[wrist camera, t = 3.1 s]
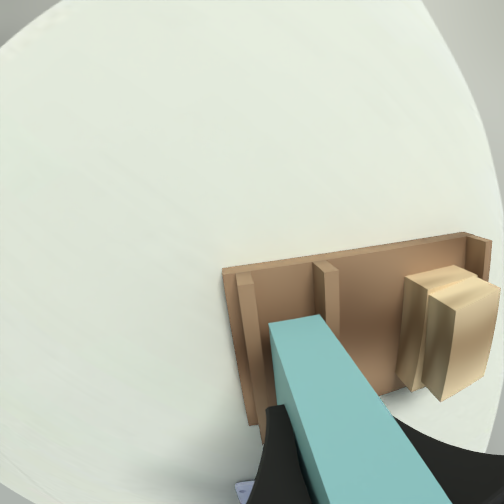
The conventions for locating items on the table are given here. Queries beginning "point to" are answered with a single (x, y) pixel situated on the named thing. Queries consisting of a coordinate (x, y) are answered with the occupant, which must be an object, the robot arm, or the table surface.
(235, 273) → the walnut rack
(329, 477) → the teal block
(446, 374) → the upper oak offcut
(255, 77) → the table surface
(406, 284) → the lower oak offcut
